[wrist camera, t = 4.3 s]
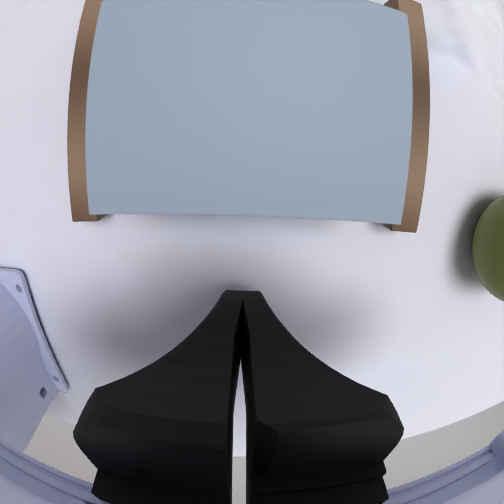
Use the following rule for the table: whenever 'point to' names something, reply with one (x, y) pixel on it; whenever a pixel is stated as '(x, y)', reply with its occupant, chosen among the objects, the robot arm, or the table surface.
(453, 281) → the table surface
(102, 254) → the table surface
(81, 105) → the chute
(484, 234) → the pear
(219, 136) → the block
